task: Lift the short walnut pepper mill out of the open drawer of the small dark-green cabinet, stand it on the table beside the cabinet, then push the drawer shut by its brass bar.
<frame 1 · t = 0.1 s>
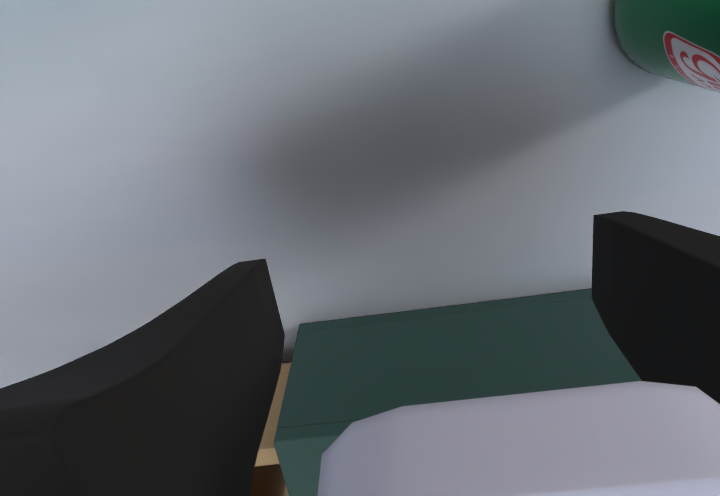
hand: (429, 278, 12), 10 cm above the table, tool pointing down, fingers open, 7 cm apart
pepper mill: (237, 477, 26), point 2 cm above the table, touching drawer
cabinet: (460, 426, 27), on the table
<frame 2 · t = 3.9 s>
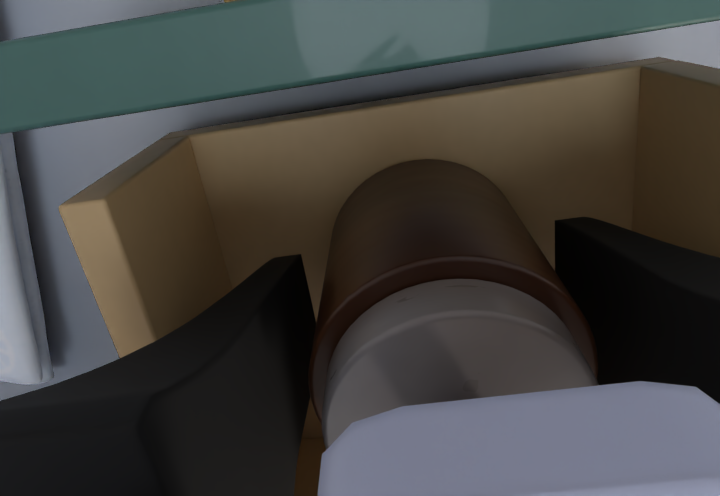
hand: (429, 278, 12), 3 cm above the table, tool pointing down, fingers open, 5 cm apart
pepper mill: (424, 249, 13), point 2 cm above the table, touching drawer
drawer: (422, 207, 11), point 4 cm above the table, slide at 9.0 cm, touching pepper mill
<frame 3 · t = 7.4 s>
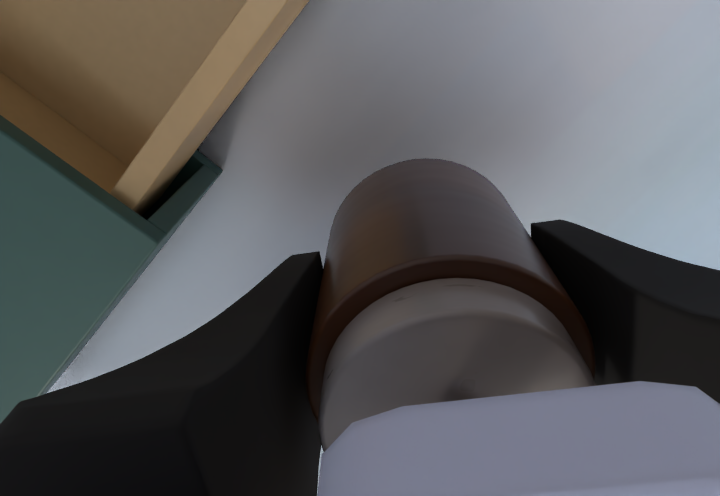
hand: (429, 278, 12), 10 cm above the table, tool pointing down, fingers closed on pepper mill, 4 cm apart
pepper mill: (422, 248, 13), point 9 cm above the table, touching gripper
when the fingers open (1 cm above the table, at t = 10.5 s): pepper mill stays where it is, on the table.
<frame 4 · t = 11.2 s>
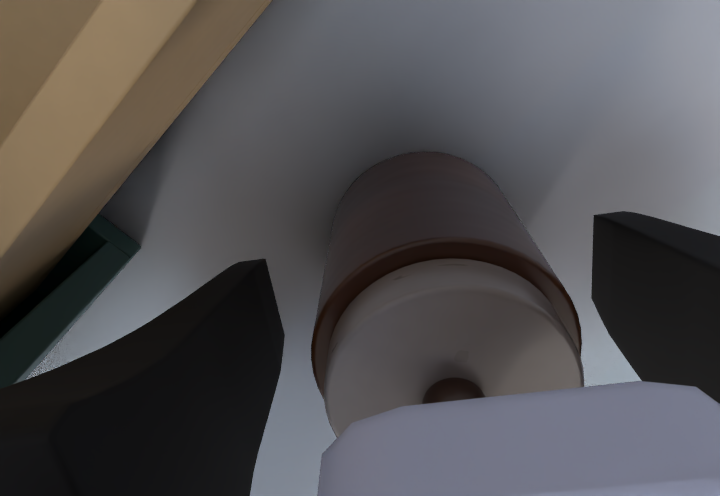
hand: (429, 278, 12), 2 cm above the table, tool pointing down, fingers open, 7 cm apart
pepper mill: (421, 238, 14), on the table
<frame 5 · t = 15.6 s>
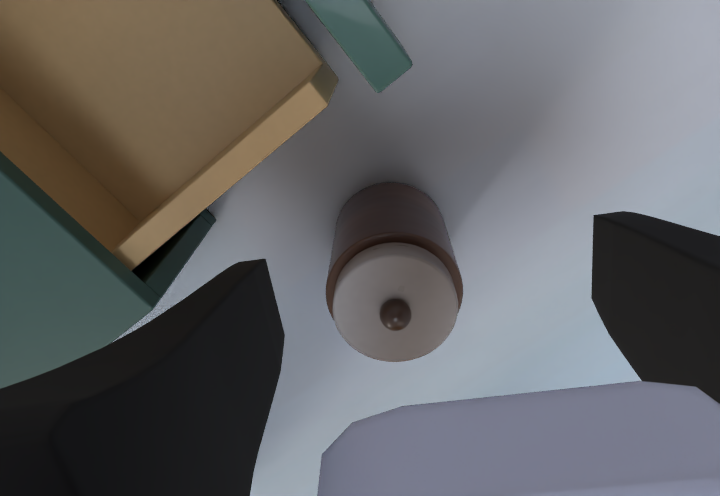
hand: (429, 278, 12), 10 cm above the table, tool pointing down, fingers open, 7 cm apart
pepper mill: (389, 234, 23), on the table
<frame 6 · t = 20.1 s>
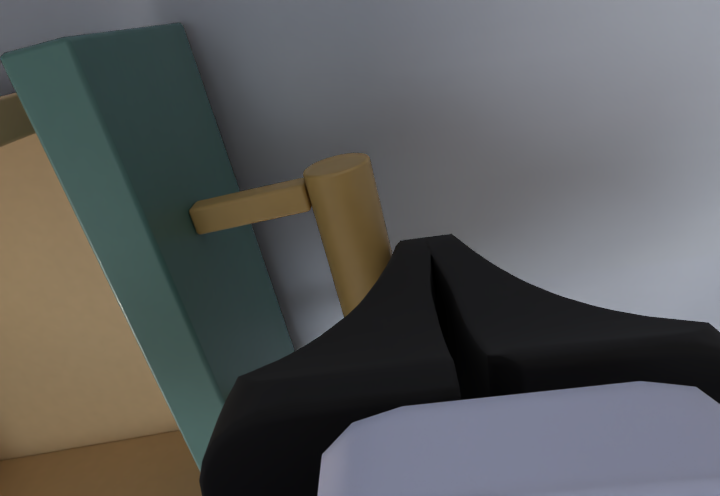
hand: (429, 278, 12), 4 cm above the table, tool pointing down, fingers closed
drawer: (81, 332, 14), point 4 cm above the table, slide at 8.9 cm, touching gripper
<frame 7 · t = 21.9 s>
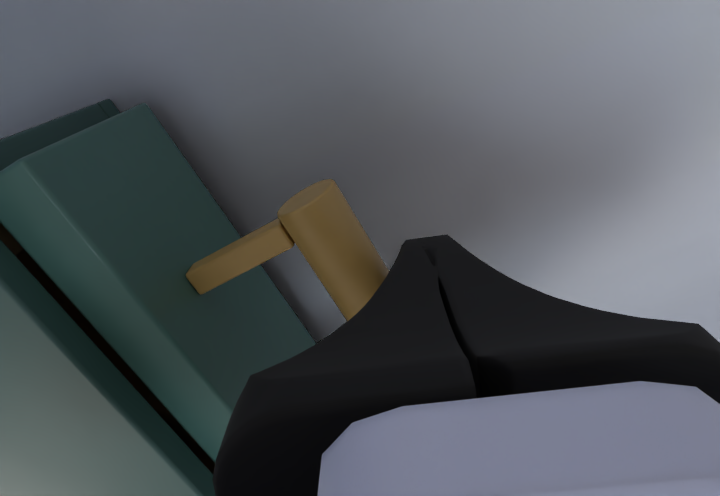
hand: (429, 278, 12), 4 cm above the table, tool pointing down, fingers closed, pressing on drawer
cabinet: (92, 374, 19), on the table
drawer: (132, 405, 15), point 4 cm above the table, slide at 0.0 cm, touching cabinet, gripper
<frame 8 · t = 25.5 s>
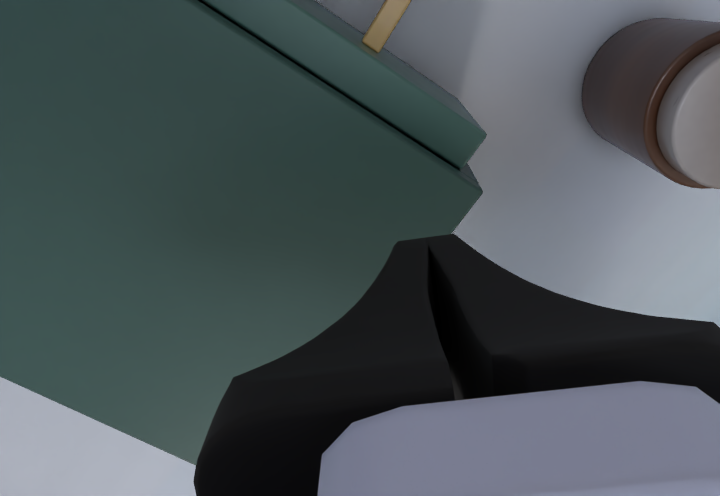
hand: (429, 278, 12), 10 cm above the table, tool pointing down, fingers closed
pepper mill: (644, 85, 20), on the table
cabinet: (212, 177, 22), on the table
drawer: (232, 119, 17), point 4 cm above the table, slide at 0.0 cm, touching cabinet
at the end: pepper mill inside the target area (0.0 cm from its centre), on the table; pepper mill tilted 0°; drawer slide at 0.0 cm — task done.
